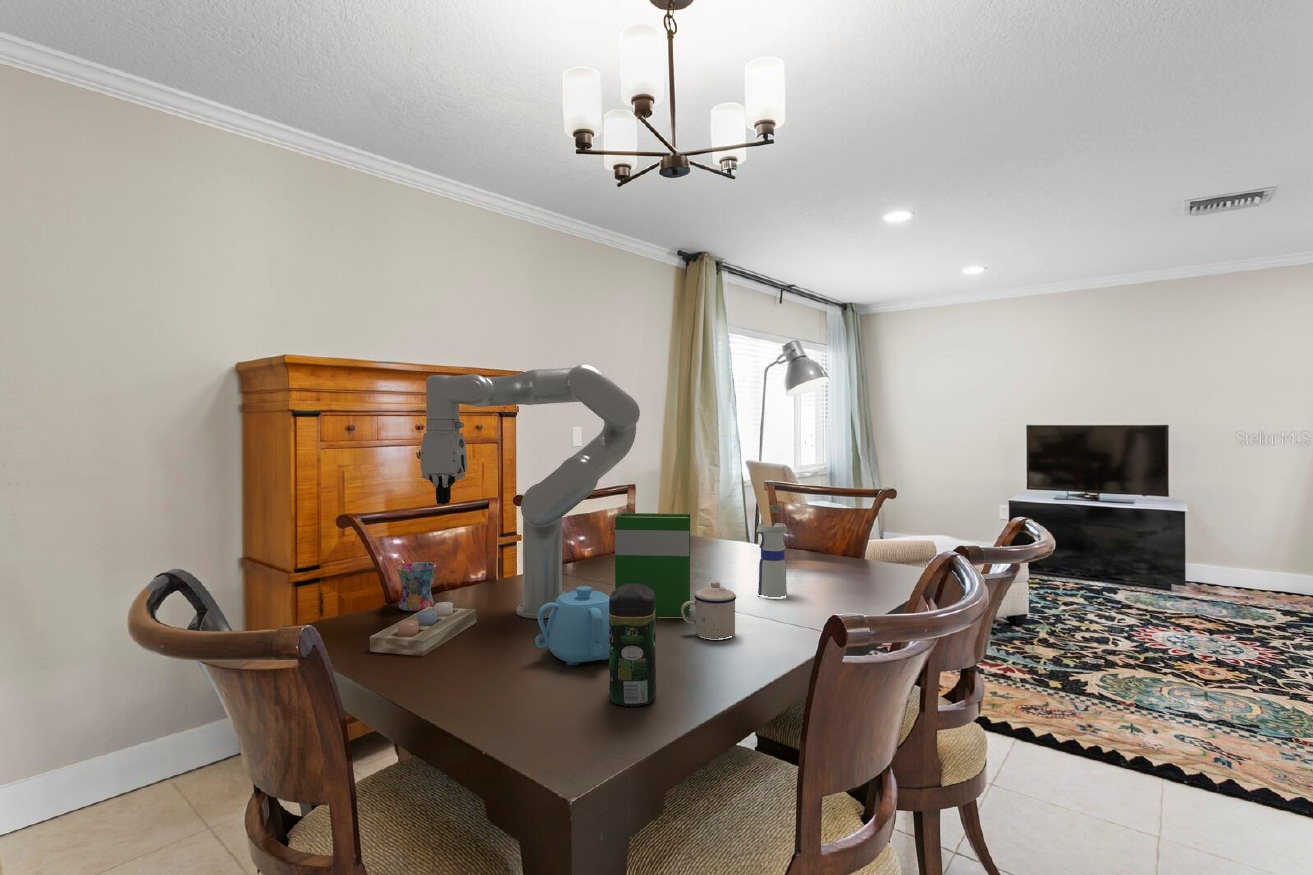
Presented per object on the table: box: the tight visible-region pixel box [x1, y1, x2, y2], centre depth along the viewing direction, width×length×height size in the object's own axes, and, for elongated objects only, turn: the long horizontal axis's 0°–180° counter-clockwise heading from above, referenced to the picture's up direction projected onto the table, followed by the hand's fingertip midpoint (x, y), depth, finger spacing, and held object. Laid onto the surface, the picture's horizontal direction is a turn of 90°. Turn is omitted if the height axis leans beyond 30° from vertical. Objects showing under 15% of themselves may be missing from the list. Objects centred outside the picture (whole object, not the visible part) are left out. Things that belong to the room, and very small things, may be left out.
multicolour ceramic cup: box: [396, 561, 437, 612], centre depth 160 cm, size 12×9×11 cm
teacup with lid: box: [681, 580, 737, 639], centre depth 138 cm, size 12×9×12 cm
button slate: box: [416, 610, 437, 626], centre depth 137 cm, size 4×4×4 cm
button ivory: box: [433, 601, 454, 617], centre depth 144 cm, size 4×4×4 cm
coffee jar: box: [608, 584, 657, 708], centre depth 107 cm, size 10×8×19 cm
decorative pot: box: [534, 585, 610, 666], centre depth 126 cm, size 16×16×14 cm
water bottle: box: [755, 501, 789, 597], centre depth 170 cm, size 8×9×25 cm
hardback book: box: [614, 512, 691, 618], centre depth 154 cm, size 18×7×24 cm, turn 85°
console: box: [369, 606, 477, 657], centre depth 137 cm, size 12×22×3 cm, turn 169°
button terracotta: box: [397, 620, 418, 637], centre depth 130 cm, size 4×4×4 cm
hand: (443, 503), depth 151 cm, fingers closed
